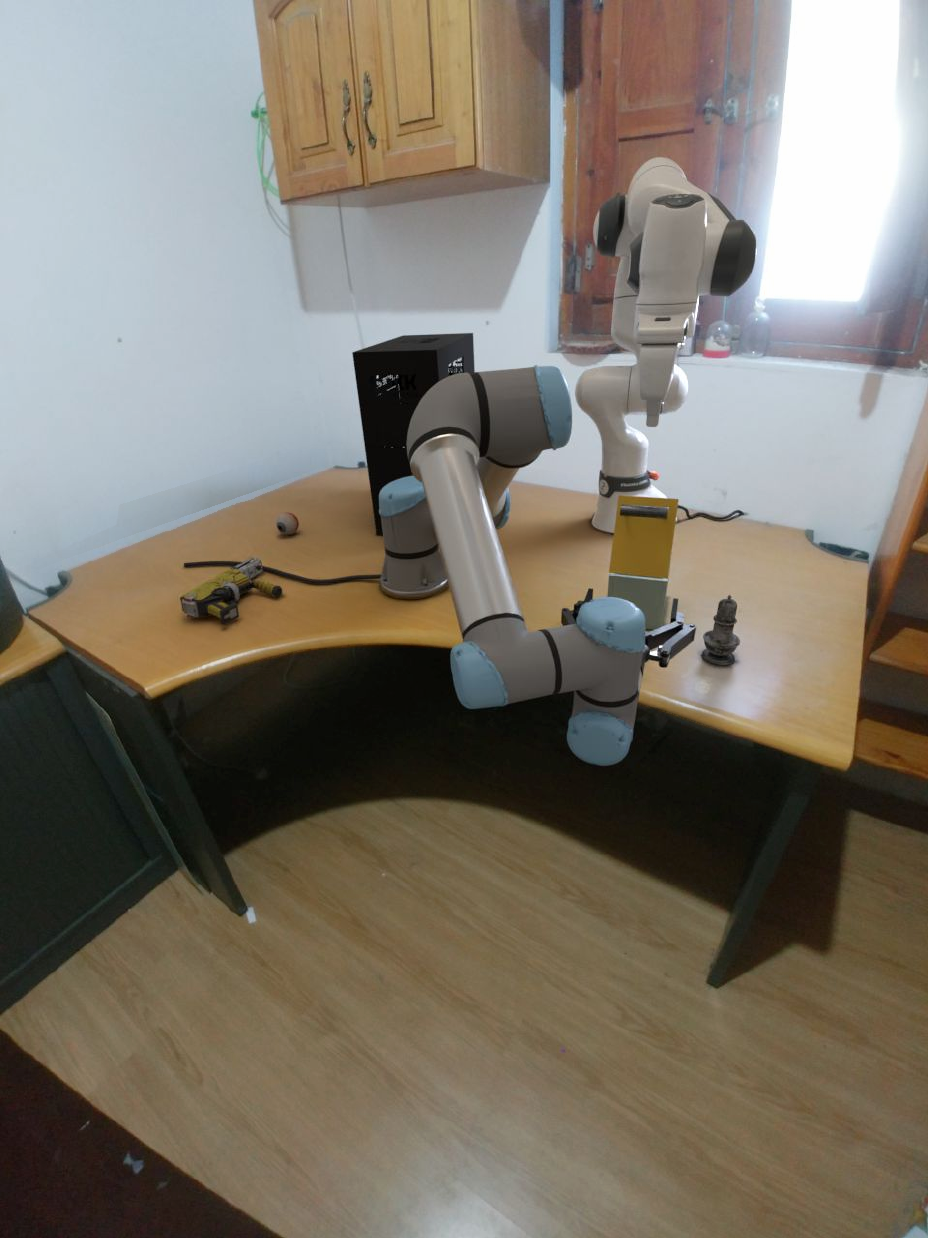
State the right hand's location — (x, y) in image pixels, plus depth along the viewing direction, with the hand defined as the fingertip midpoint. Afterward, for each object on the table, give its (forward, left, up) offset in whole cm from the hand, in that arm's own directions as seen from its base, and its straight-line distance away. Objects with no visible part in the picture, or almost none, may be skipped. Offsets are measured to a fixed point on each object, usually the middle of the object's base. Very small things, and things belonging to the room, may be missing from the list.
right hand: (654, 419), depth 98 cm
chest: (-3, -3, -38) cm, 38 cm away
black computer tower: (+11, -78, -38) cm, 87 cm away
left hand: (+9, +10, -26) cm, 30 cm away
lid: (-1, -1, -21) cm, 21 cm away
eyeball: (+51, -83, -38) cm, 104 cm away
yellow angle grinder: (+67, -49, -38) cm, 91 cm away
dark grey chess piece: (-4, +17, -38) cm, 42 cm away
